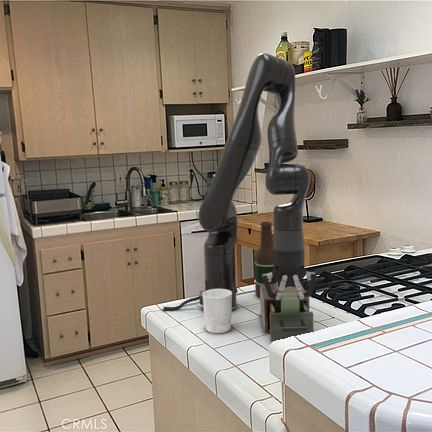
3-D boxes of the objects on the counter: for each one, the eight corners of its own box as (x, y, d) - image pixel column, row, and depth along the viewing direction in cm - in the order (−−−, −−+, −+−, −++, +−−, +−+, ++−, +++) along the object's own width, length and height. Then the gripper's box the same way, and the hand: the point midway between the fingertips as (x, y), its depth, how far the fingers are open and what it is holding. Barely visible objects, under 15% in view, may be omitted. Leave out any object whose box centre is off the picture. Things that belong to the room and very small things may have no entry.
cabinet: (309, 331, 131) (309, 298, 130) (265, 332, 132) (264, 299, 130) (300, 313, 145) (300, 282, 143) (260, 314, 145) (259, 284, 144)
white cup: (199, 326, 138) (197, 291, 136) (225, 321, 141) (224, 287, 139) (210, 336, 130) (209, 299, 129) (238, 330, 134) (236, 294, 132)
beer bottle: (284, 295, 161) (283, 222, 157) (266, 301, 157) (265, 225, 153) (268, 290, 167) (267, 219, 163) (250, 295, 163) (248, 222, 159)
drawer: (317, 350, 118) (317, 320, 117) (273, 351, 118) (272, 321, 117) (304, 322, 135) (304, 296, 134) (265, 324, 135) (265, 297, 134)
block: (281, 316, 124) (281, 299, 123) (279, 310, 129) (279, 293, 128) (299, 315, 124) (299, 298, 123) (296, 309, 128) (296, 293, 128)
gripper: (260, 250, 120) (262, 319, 123) (320, 248, 120) (321, 317, 122) (258, 244, 127) (259, 308, 130) (314, 242, 127) (315, 307, 130)
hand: (289, 312), depth 126 cm, fingers closed on block, 4 cm apart
